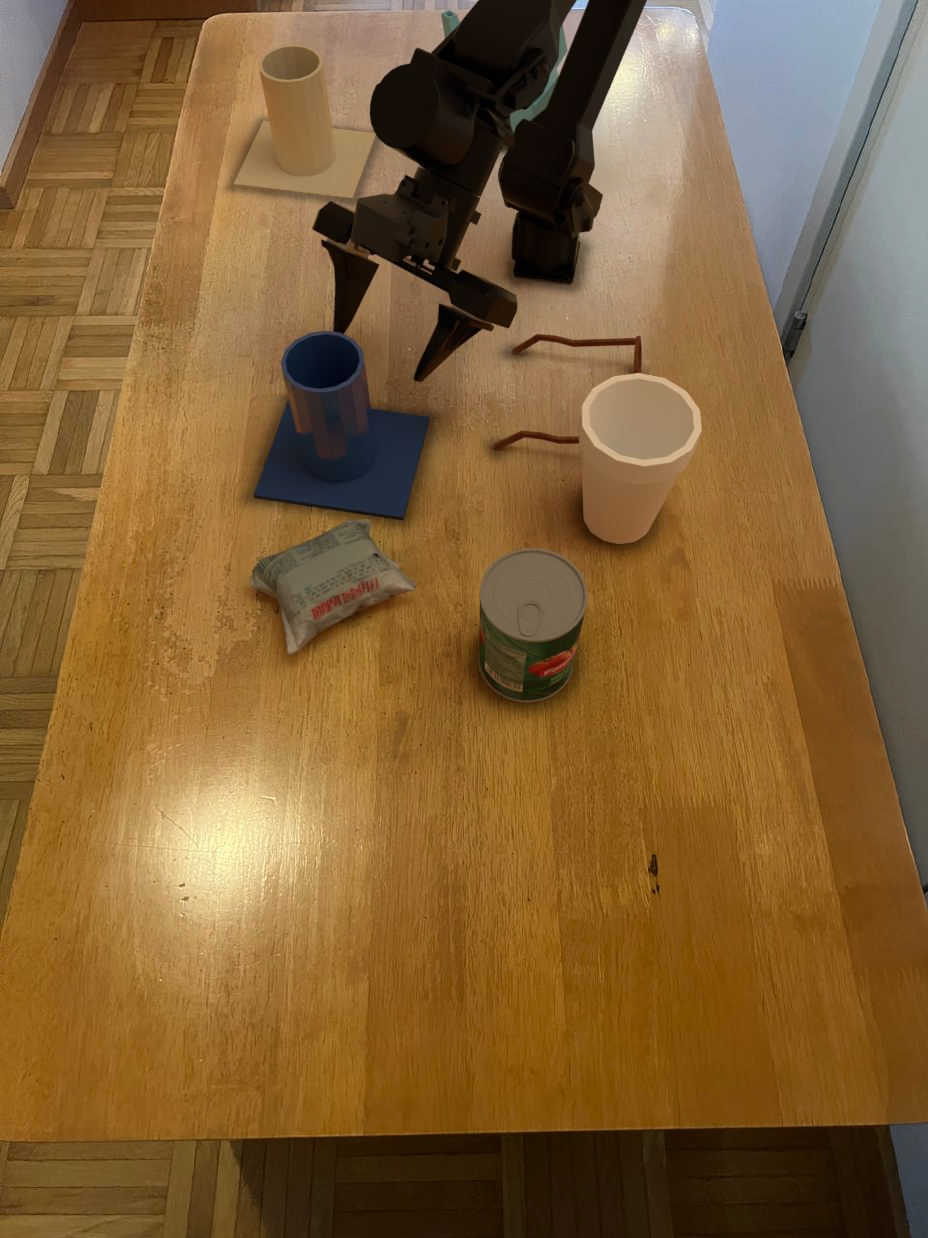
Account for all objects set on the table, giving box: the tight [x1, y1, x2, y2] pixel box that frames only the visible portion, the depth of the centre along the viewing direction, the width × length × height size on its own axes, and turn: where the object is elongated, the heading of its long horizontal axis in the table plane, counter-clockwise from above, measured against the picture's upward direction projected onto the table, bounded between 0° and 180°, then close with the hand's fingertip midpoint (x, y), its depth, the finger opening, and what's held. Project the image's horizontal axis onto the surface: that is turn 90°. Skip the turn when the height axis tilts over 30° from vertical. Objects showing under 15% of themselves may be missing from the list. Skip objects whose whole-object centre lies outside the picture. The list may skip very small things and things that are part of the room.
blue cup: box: [280, 330, 376, 483], centre depth 82 cm, size 7×7×12 cm
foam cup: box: [578, 372, 703, 545], centre depth 78 cm, size 10×9×13 cm
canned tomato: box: [477, 547, 589, 704], centre depth 72 cm, size 8×8×11 cm
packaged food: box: [249, 518, 417, 656], centre depth 78 cm, size 9×12×5 cm
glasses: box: [493, 333, 643, 451], centre depth 88 cm, size 13×13×5 cm
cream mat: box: [233, 120, 377, 199], centre depth 109 cm, size 14×12×1 cm
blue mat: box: [253, 398, 431, 520], centre depth 87 cm, size 14×12×1 cm
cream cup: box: [258, 43, 336, 176], centre depth 104 cm, size 7×7×11 cm
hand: (376, 357), depth 83 cm, fingers open, 9 cm apart
